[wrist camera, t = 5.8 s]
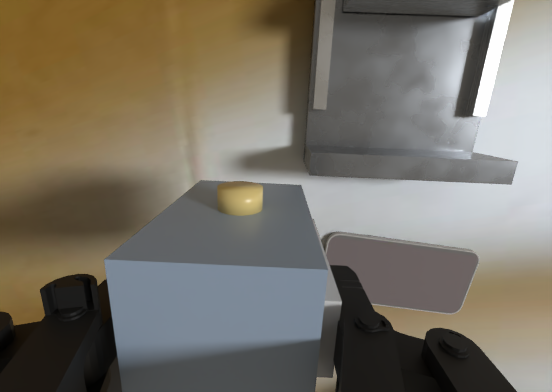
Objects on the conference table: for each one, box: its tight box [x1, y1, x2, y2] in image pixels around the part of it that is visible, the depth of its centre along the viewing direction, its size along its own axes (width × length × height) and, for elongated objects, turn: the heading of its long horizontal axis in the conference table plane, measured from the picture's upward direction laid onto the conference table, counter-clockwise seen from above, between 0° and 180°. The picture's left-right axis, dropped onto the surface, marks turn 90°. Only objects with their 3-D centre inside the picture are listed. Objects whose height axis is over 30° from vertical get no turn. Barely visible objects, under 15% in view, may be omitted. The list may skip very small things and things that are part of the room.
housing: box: [104, 180, 328, 392], centre depth 11 cm, size 5×7×8 cm
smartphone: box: [324, 232, 480, 314], centre depth 28 cm, size 7×1×15 cm
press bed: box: [304, 0, 518, 184], centre depth 20 cm, size 14×15×7 cm
